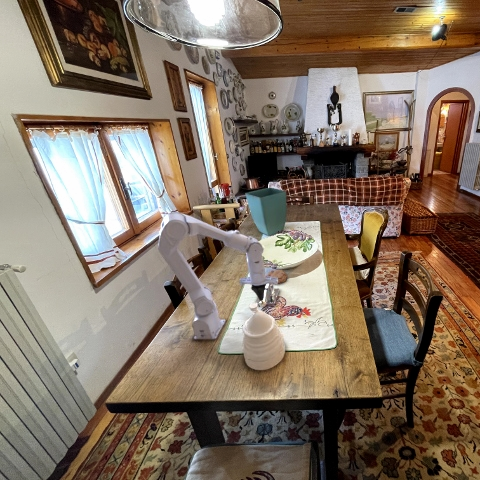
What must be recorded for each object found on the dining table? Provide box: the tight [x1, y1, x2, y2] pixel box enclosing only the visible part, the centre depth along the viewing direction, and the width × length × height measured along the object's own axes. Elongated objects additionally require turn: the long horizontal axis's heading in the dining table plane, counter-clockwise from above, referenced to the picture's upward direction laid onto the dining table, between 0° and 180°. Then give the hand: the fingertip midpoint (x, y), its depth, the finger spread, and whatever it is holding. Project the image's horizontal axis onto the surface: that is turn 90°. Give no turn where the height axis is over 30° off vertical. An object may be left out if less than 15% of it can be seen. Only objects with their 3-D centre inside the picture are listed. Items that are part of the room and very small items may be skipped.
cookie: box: [266, 269, 288, 285], centre depth 122 cm, size 10×11×3 cm
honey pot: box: [241, 302, 286, 371], centre depth 78 cm, size 13×13×18 cm
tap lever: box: [259, 284, 269, 308], centre depth 104 cm, size 11×3×3 cm, turn 177°
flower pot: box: [244, 187, 288, 237], centre depth 173 cm, size 20×20×28 cm
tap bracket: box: [255, 284, 280, 306], centre depth 107 cm, size 10×8×7 cm
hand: (261, 299), depth 100 cm, fingers closed
